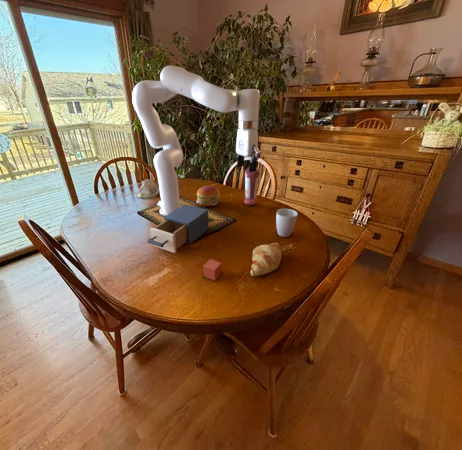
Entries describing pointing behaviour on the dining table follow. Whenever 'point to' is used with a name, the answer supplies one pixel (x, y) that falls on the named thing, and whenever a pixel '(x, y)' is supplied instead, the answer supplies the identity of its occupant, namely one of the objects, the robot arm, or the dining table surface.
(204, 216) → the cabinet
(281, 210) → the cup
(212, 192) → the burger
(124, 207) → the dining table surface
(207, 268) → the block
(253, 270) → the croissant
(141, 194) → the ceramic model
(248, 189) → the liquor
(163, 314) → the dining table surface
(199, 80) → the robot arm
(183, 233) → the drawer
